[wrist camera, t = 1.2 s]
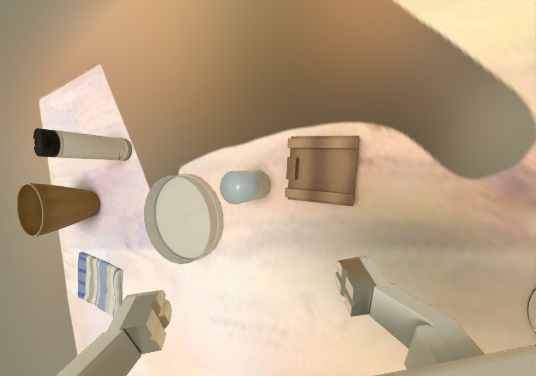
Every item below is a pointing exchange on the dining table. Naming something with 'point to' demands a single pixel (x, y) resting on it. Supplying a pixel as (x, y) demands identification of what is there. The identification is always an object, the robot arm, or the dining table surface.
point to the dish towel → (100, 283)
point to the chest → (322, 169)
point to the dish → (183, 218)
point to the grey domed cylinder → (244, 186)
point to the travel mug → (79, 145)
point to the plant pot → (53, 207)
